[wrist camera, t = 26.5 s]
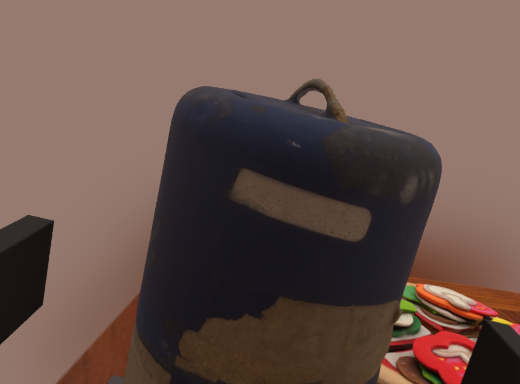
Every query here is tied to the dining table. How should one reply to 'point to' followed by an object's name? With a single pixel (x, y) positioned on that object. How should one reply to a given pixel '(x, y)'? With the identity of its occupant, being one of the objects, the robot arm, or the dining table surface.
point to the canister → (278, 242)
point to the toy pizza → (434, 336)
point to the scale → (116, 380)
